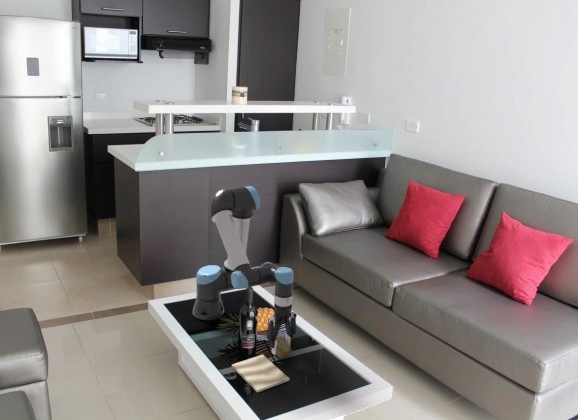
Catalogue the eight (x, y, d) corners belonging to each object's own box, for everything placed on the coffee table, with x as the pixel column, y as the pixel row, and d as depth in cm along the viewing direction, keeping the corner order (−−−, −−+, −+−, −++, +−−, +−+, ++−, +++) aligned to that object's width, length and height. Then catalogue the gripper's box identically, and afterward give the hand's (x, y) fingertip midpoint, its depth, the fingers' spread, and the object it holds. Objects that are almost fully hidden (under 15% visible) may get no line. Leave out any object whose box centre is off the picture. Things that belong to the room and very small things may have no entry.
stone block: (280, 360, 232) (280, 350, 231) (269, 347, 242) (269, 337, 240) (292, 357, 234) (292, 347, 233) (281, 344, 244) (281, 334, 243)
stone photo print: (231, 366, 226) (231, 364, 226) (262, 356, 234) (262, 354, 234) (257, 392, 210) (257, 390, 210) (289, 380, 219) (289, 378, 218)
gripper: (268, 312, 223) (266, 361, 230) (306, 301, 234) (303, 349, 240) (259, 304, 229) (257, 353, 236) (296, 295, 239) (293, 341, 246)
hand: (280, 351), depth 238 cm, fingers closed on stone block, 6 cm apart
